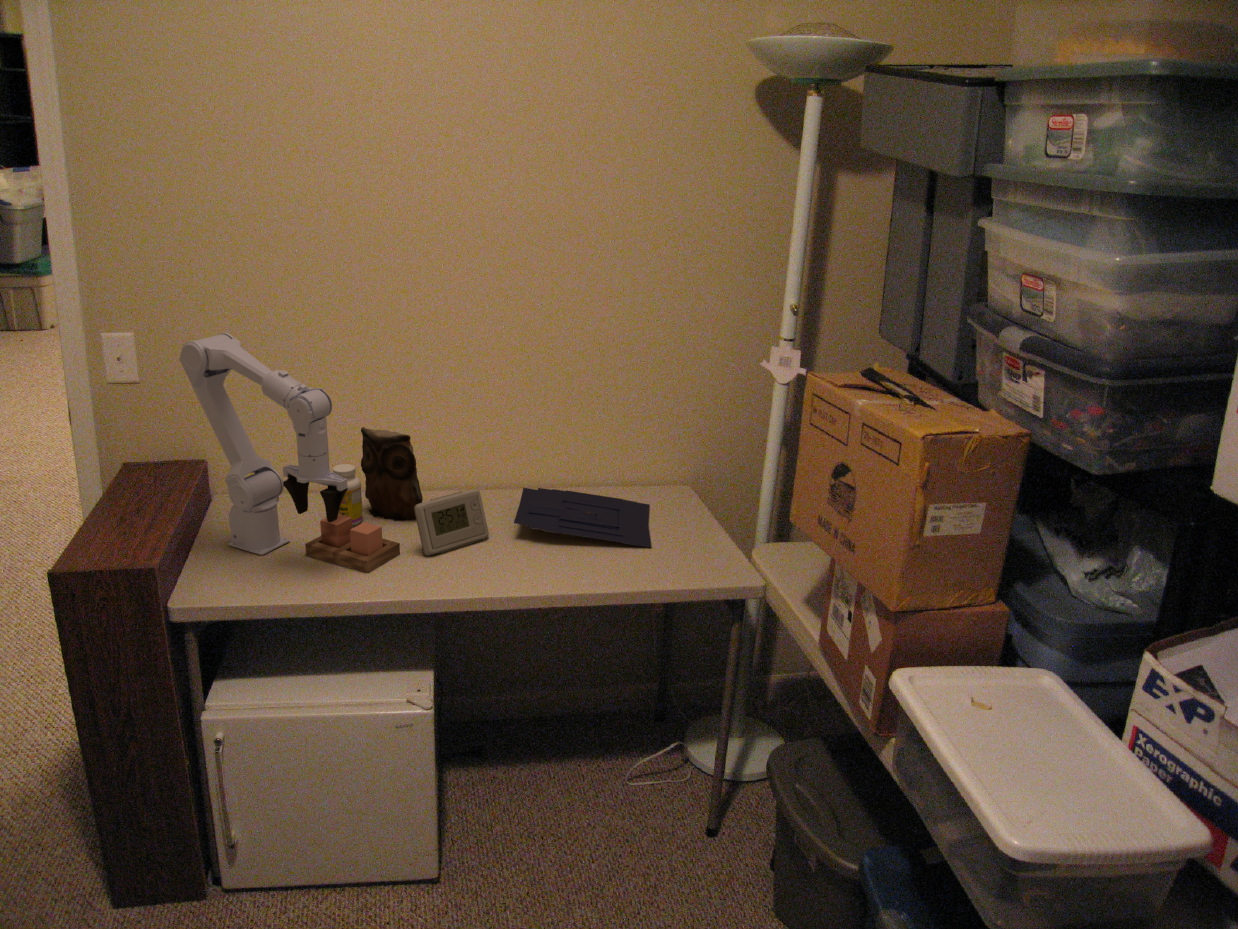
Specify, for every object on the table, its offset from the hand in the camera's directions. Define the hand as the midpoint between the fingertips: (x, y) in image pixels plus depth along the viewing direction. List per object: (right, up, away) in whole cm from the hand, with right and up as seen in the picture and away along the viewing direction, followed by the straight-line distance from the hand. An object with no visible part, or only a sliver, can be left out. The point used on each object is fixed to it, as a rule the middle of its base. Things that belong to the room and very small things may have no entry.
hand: (317, 516), depth 191 cm
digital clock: (+25, -7, +13) cm, 29 cm away
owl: (+10, -1, +29) cm, 30 cm away
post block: (+9, -8, +4) cm, 13 cm away
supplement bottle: (0, -3, +22) cm, 22 cm away
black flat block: (+52, -3, +26) cm, 58 cm away
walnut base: (+5, -8, +7) cm, 12 cm away
